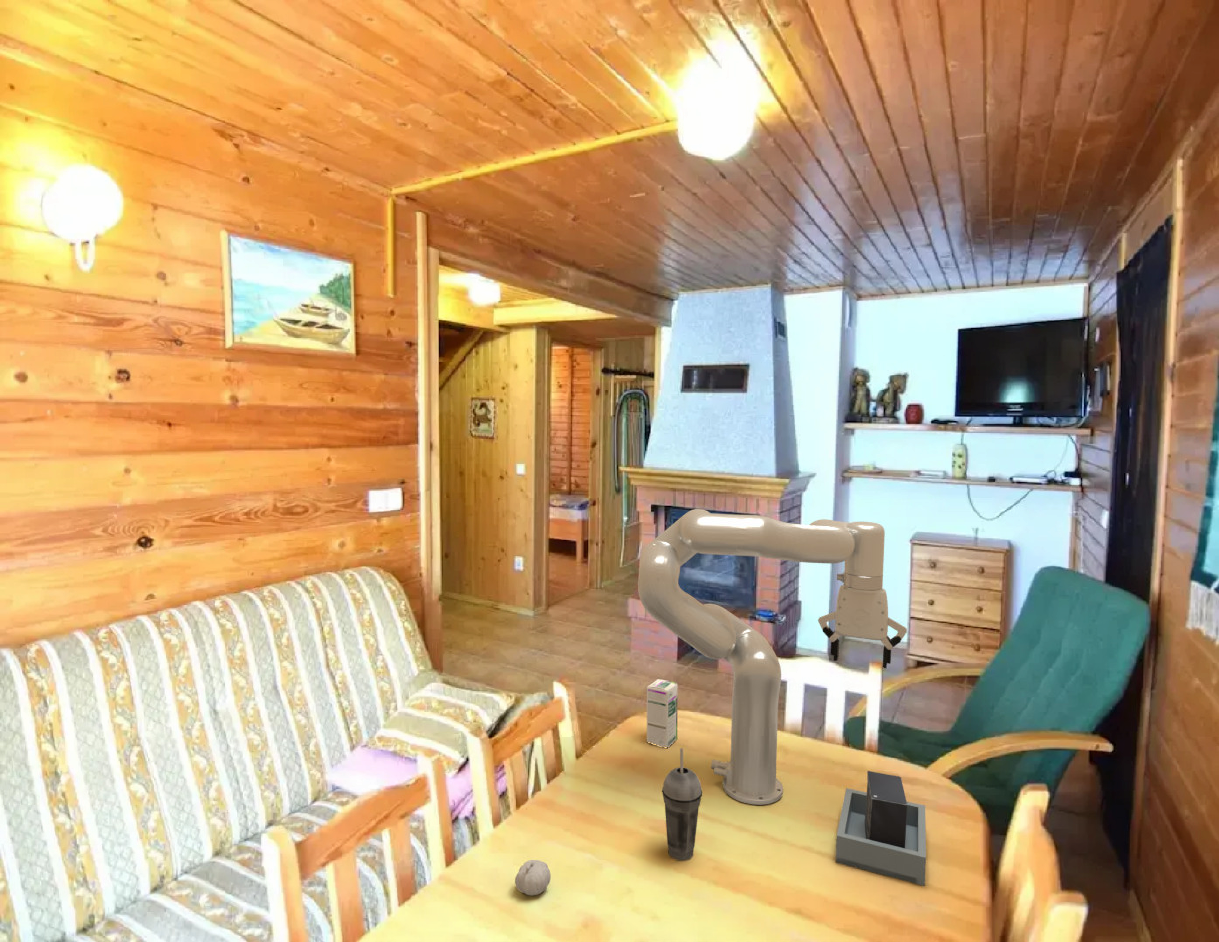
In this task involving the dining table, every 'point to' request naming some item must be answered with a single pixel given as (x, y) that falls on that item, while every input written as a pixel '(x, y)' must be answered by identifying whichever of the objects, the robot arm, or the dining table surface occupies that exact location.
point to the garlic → (533, 877)
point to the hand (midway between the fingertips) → (860, 662)
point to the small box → (885, 809)
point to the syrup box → (662, 712)
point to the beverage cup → (681, 810)
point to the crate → (880, 855)
